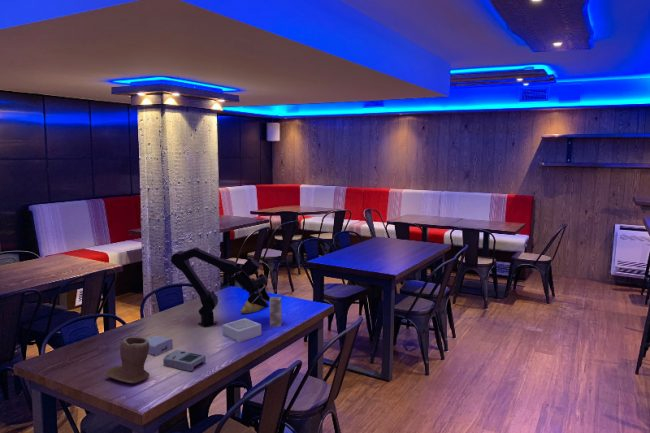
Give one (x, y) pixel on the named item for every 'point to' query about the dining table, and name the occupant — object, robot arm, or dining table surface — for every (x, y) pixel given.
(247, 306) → the croissant
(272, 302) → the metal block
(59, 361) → the dining table surface
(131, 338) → the stone cup
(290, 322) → the dining table surface
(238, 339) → the box
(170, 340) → the charger
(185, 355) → the handheld gaming device
